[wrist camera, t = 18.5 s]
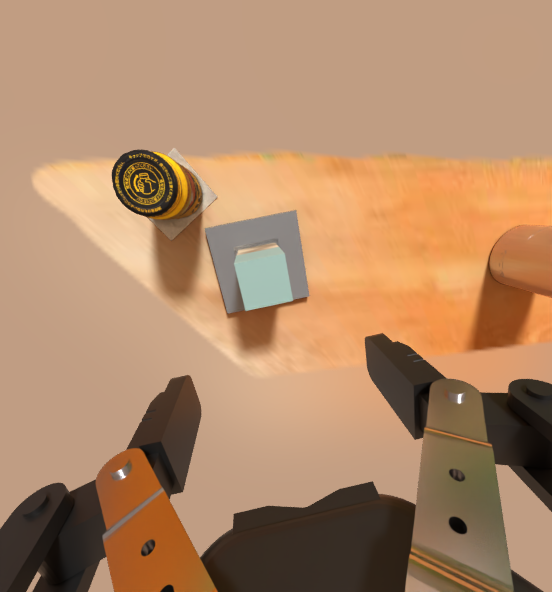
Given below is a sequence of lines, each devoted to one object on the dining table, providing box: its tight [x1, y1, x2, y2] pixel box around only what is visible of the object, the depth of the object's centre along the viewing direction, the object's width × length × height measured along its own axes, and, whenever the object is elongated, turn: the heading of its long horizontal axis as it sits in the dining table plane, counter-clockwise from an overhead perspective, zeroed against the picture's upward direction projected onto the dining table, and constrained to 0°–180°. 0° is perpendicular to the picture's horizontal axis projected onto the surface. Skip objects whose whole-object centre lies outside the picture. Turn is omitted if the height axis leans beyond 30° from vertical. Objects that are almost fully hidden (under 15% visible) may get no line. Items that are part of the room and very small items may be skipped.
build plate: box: [205, 210, 309, 314], centre depth 36 cm, size 12×12×1 cm
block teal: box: [234, 247, 293, 311], centre depth 29 cm, size 5×5×5 cm
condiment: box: [112, 148, 217, 241], centre depth 27 cm, size 7×8×12 cm
